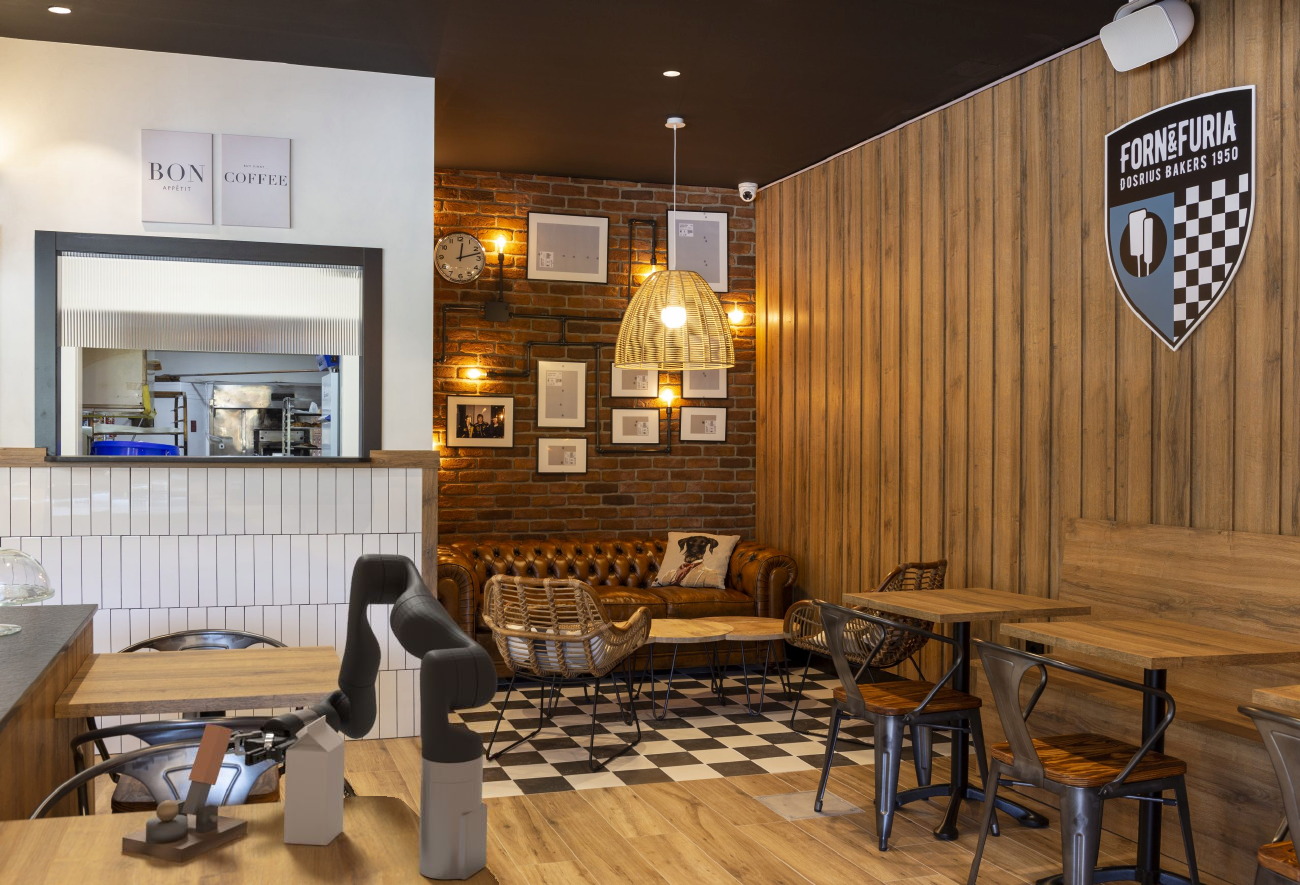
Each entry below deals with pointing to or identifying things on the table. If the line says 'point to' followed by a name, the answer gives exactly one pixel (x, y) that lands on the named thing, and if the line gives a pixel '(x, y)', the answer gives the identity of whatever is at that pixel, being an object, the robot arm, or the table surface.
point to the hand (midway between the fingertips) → (226, 756)
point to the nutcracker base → (189, 842)
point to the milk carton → (314, 785)
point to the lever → (206, 766)
